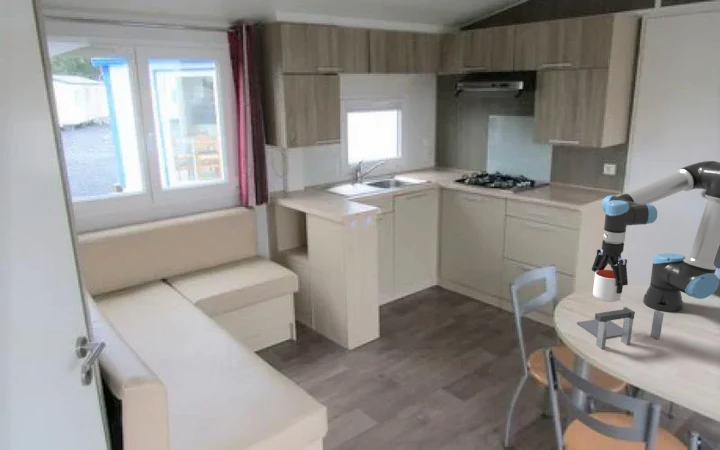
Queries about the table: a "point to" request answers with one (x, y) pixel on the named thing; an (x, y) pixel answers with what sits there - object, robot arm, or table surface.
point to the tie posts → (629, 330)
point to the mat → (592, 328)
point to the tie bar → (615, 315)
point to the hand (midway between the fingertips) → (606, 294)
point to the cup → (604, 285)
